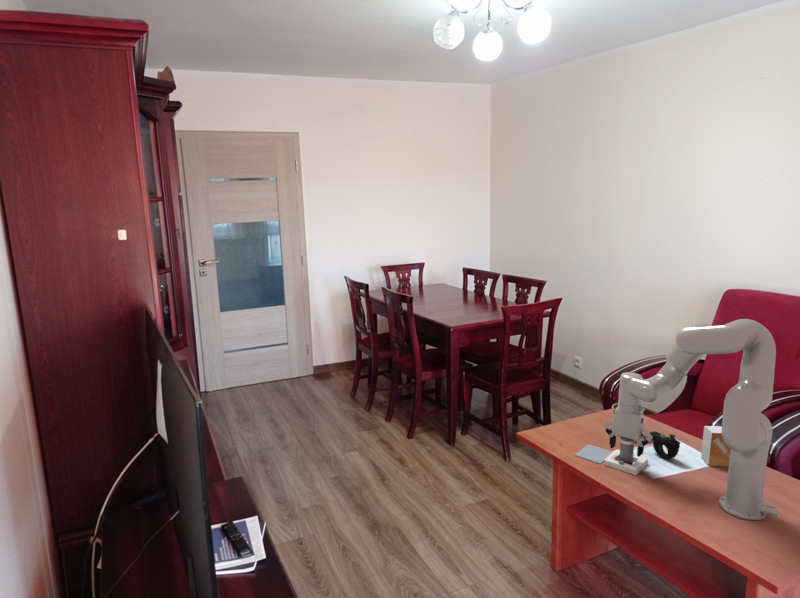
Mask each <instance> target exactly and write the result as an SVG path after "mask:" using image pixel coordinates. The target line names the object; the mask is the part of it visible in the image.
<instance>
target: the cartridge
mask: <svg viewBox="0 0 800 598" xmlns="http://www.w3.org/2000/svg"><path fill="white" fill-rule="evenodd" d="M619 441H620V445H619V446H620V447H619V450H620V458H619V460H622V461H624V463H626V464H630V465H633V464H634V462H633V453H634V450H635V449H634V447H635V446H634V445H635V440H633V439H629V438H626V437H622V436H620V440H619ZM619 460H618V461H619Z"/></svg>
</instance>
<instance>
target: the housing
mask: <svg viewBox="0 0 800 598" xmlns="http://www.w3.org/2000/svg"><path fill="white" fill-rule="evenodd" d="M612 452H613V453H611V454H610V455H609V456H608V457H607V458H606V459H604V461H603V465H604V466H607V467H608V468H612V469H615V470H619V471H621V472H624V473H628V474H630V475H634V476H637V475H638V474H639V473H640V472H641V471H642V470H643V469H644V468H645V467H646V466H647V465H648V464H649V462H648V461H649V458H647V457H645V456H642V455H641V456H639V457H638V456H637V454H635V453H634V452H633V464H632V465H630V464H626V463H624V461H622V460H619V458H620V449H619V448H618V449H617V448H616V449H615V450H614V451H612ZM634 462H635V463H634ZM647 463H648V464H647ZM646 464H647V465H646ZM645 465H646V466H645ZM644 466H645V467H644ZM643 467H644V468H643ZM642 468H643V469H642ZM641 469H642V470H641ZM640 470H641V471H640ZM639 471H640V472H639Z"/></svg>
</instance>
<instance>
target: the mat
mask: <svg viewBox="0 0 800 598" xmlns="http://www.w3.org/2000/svg"><path fill="white" fill-rule="evenodd" d="M613 452H614V451H611V450H608V449H605V448H602V447H599V446H595V445H591V444H588V443H587V444H586V446H584V447H583V448H581V449H580V450H579V451H577V452H576V453H575V454H574V456H575V457H578V458H581V459H584V460H587V461H589V462H590V461H591V462H593V463H595V464H600V465H602V463H604V459H606V458H607V457H608V456H609V455H610V454H611V453H613Z"/></svg>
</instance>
